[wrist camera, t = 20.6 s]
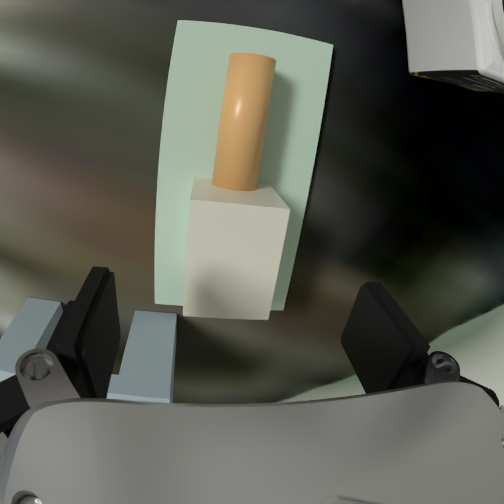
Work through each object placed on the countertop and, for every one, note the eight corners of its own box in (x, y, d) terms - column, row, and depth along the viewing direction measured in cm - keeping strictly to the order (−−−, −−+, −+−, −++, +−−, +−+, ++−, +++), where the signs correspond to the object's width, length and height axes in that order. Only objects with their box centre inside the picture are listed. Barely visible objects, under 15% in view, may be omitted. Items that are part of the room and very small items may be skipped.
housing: (29, 297, 20) (-16, 365, 13) (176, 313, 22) (169, 398, 15) (35, 323, 21) (-3, 392, 14) (176, 340, 23) (171, 424, 16)
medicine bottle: (406, 74, 17) (558, 79, 6) (397, -16, 14) (526, -61, 3) (475, 91, 17) (602, 114, 7) (468, 11, 14) (587, 2, 4)
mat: (178, 21, 14) (178, 19, 14) (330, 46, 16) (333, 45, 15) (155, 300, 21) (154, 303, 21) (282, 307, 23) (283, 310, 23)
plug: (210, 56, 15) (211, 36, 10) (287, 68, 16) (316, 55, 11) (186, 281, 21) (182, 329, 16) (252, 285, 21) (265, 333, 17)
